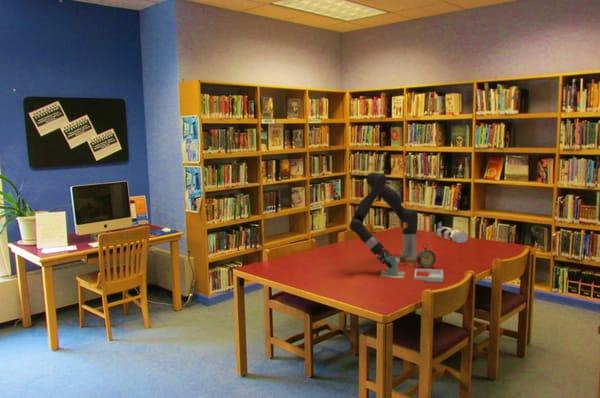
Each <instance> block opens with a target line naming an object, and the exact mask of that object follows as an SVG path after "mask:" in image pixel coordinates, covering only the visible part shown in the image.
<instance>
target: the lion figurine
mask: <svg viewBox="0 0 600 398" xmlns="http://www.w3.org/2000/svg"><path fill="white" fill-rule="evenodd" d="M397 257H398V259H399V261H400V262H401V263H402V264H403V266H405V267H406V266H407V264H409V265H411V264H412V266H414V267H416V268H420V265H419V264H418V262H417V258H416V259H415V258H408V257H407V256H405V255H404V254H403V253H402V252H401V253H398V254H397Z"/></svg>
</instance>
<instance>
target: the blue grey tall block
mask: <svg viewBox="0 0 600 398" xmlns="http://www.w3.org/2000/svg"><path fill="white" fill-rule="evenodd" d="M387 260H388V262H389V263H390V264H391V265H392V267H391V268H389V267H388V266H387V265H386V271H387V275H393V276H396V275H397V274H398V271H399V269H398V264H399V263H400V262H401V261H399V259H398V256H392V257H388V258H387Z"/></svg>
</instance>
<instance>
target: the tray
mask: <svg viewBox="0 0 600 398" xmlns="http://www.w3.org/2000/svg"><path fill="white" fill-rule="evenodd" d="M418 273H428V274H427V276H419V275H417V274H418ZM413 279H414V280H421V281H422V280H423V283H432V284H433V283H434V284H435V283H436V284H444V270H443V269H433V268H432V269H429V268H415V269H414V277H413Z"/></svg>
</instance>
